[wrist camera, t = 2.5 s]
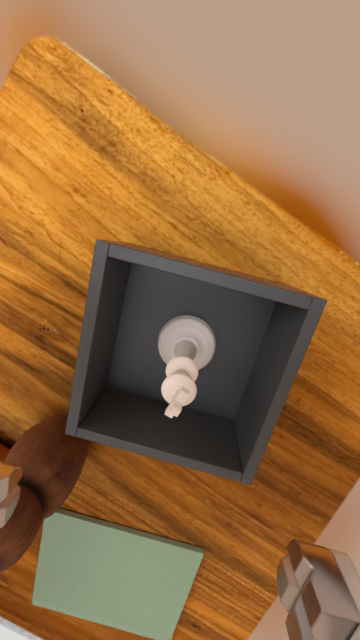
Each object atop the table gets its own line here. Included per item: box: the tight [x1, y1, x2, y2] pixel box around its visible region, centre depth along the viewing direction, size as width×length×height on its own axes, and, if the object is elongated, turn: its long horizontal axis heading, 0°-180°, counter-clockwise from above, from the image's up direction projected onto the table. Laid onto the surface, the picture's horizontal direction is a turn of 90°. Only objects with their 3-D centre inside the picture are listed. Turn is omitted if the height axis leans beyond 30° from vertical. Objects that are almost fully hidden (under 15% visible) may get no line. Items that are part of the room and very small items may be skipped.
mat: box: [31, 508, 204, 640], centre depth 31 cm, size 18×16×1 cm
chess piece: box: [158, 315, 216, 419], centre depth 18 cm, size 5×5×10 cm
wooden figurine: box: [0, 416, 89, 572], centre depth 20 cm, size 7×6×15 cm
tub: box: [65, 240, 327, 485], centre depth 20 cm, size 14×14×7 cm
